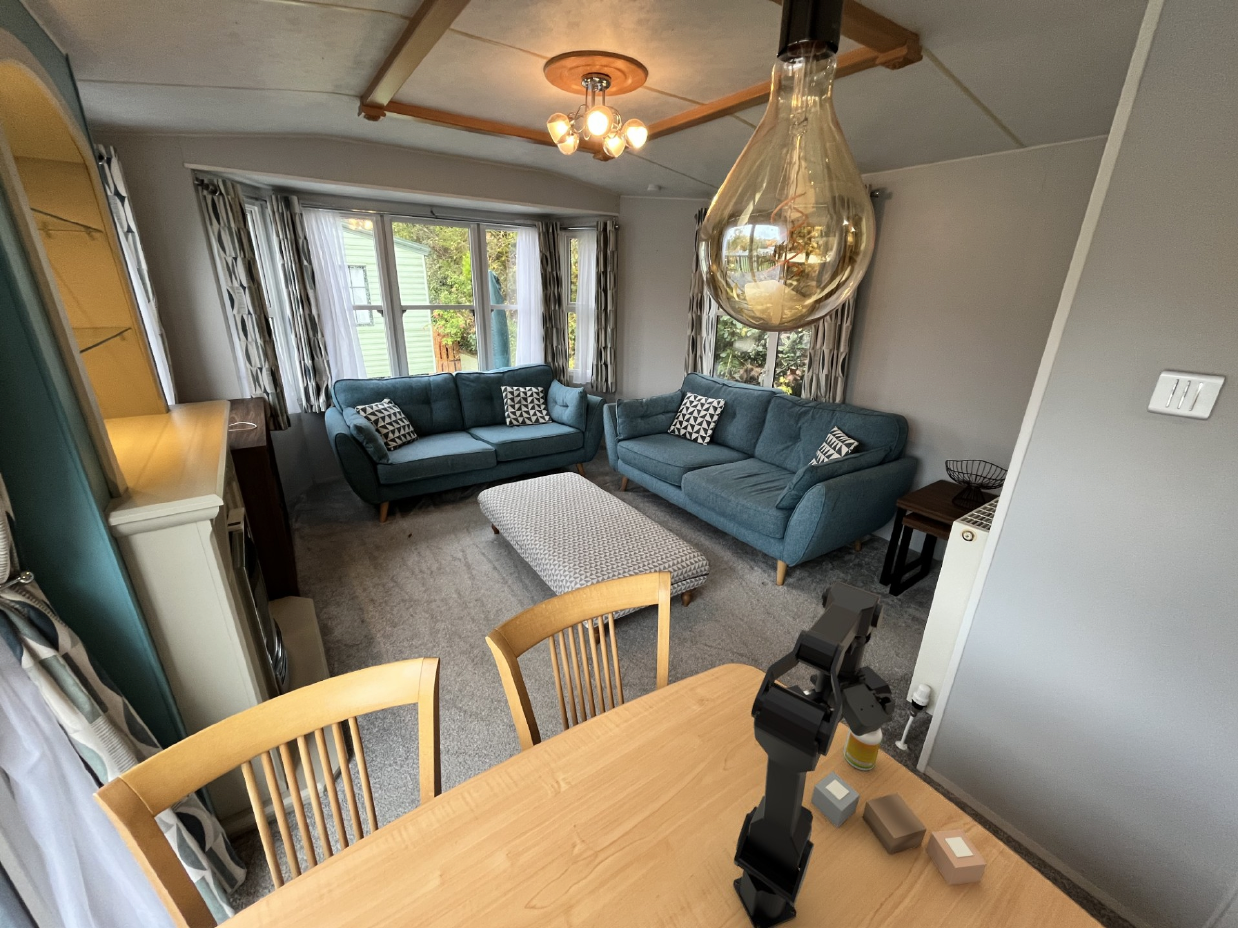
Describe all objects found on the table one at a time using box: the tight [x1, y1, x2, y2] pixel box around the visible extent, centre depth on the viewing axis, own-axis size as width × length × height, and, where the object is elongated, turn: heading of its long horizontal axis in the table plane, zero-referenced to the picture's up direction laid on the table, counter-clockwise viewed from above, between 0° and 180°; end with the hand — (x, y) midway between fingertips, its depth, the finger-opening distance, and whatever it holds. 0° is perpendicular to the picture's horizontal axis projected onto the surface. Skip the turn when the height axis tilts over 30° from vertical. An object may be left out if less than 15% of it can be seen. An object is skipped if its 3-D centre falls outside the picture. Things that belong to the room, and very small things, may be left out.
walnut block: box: [861, 792, 927, 856], centre depth 81 cm, size 6×6×4 cm
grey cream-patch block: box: [810, 771, 861, 828], centre depth 84 cm, size 5×5×4 cm
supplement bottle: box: [843, 727, 883, 771], centre depth 92 cm, size 5×5×10 cm
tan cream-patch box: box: [925, 828, 988, 886], centre depth 76 cm, size 5×5×4 cm
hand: (824, 734), depth 84 cm, fingers closed
